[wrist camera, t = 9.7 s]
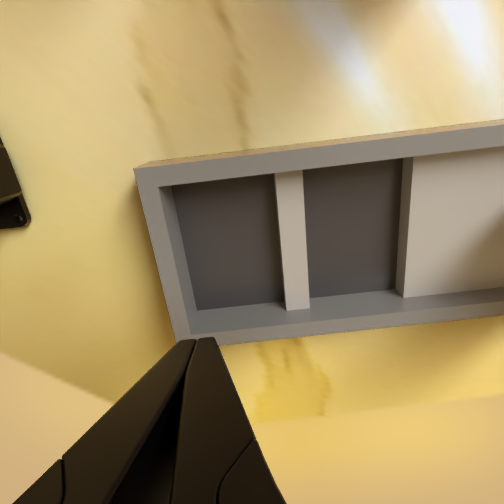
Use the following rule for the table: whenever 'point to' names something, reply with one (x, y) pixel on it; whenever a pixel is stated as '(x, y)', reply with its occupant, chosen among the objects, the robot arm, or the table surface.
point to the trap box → (330, 234)
